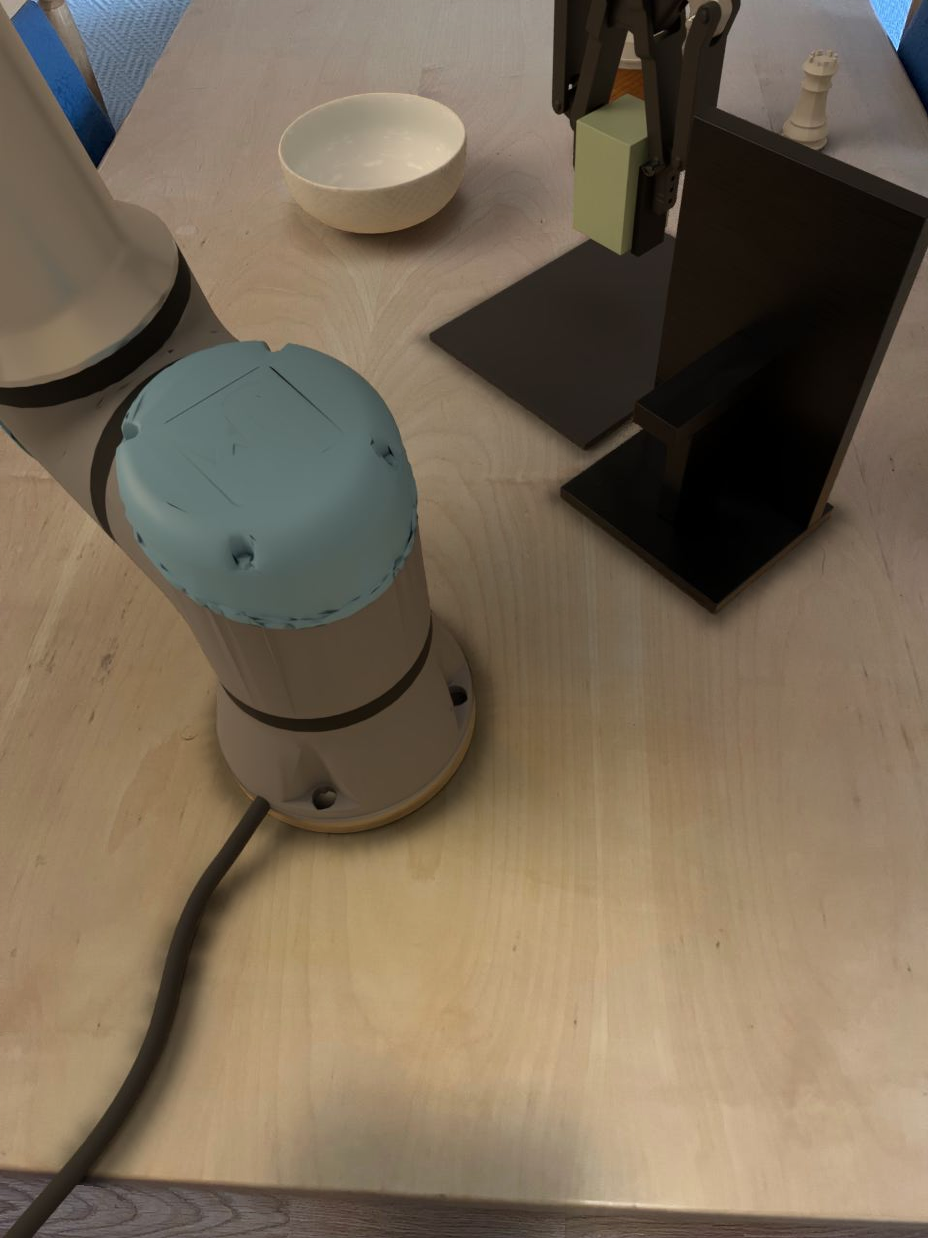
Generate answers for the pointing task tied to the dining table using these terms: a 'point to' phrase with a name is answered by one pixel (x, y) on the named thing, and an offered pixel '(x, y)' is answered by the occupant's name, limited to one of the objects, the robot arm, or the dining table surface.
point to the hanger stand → (757, 356)
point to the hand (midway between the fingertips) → (618, 231)
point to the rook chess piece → (812, 102)
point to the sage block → (609, 171)
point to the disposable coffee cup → (630, 72)
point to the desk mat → (572, 337)
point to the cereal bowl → (374, 161)
